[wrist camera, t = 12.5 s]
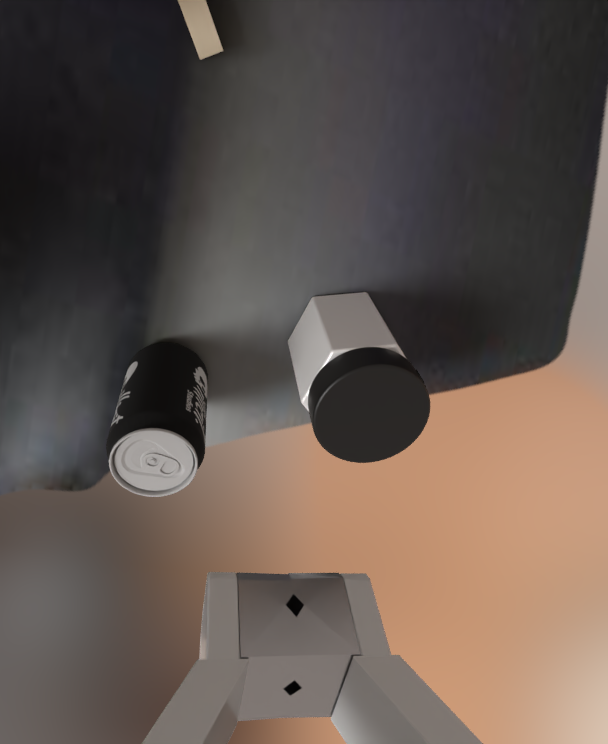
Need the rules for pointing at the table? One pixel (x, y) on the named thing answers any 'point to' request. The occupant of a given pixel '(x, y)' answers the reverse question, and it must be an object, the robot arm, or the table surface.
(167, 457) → the beverage can
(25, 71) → the table surface
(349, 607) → the robot arm
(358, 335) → the jar
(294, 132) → the table surface
